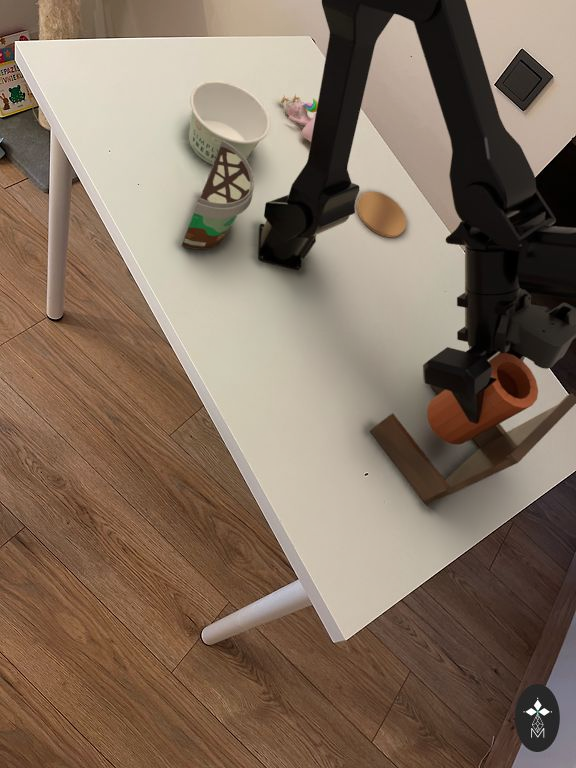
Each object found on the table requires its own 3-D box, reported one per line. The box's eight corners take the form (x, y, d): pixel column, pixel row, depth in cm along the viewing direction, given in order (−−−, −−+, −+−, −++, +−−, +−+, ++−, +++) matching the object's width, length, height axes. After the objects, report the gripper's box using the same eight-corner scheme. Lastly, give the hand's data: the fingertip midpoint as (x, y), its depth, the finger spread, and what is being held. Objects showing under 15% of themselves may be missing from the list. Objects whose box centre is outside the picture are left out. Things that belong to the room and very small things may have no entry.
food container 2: (221, 271, 80) (245, 222, 72) (178, 253, 79) (197, 201, 70) (242, 209, 87) (266, 158, 78) (202, 191, 85) (223, 137, 77)
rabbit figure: (269, 112, 101) (320, 168, 96) (279, 79, 96) (333, 136, 91) (298, 110, 104) (348, 163, 99) (309, 77, 100) (362, 131, 94)
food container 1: (165, 143, 86) (175, 107, 81) (201, 104, 93) (213, 67, 88) (236, 189, 88) (251, 155, 83) (267, 146, 95) (282, 113, 89)
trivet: (358, 228, 94) (360, 226, 94) (355, 187, 99) (356, 185, 98) (406, 243, 98) (408, 241, 97) (401, 202, 102) (403, 200, 101)
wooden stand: (369, 430, 78) (445, 372, 64) (432, 382, 86) (513, 322, 72) (426, 505, 76) (518, 463, 62) (486, 449, 84) (578, 400, 71)
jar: (430, 440, 74) (494, 401, 64) (424, 391, 77) (484, 347, 67) (474, 448, 76) (543, 412, 67) (467, 400, 80) (531, 359, 70)
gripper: (522, 333, 53) (515, 472, 61) (607, 267, 64) (592, 392, 71) (417, 311, 61) (422, 437, 68) (509, 255, 71) (505, 369, 79)
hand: (489, 408), depth 71 cm, fingers closed on jar, 7 cm apart
